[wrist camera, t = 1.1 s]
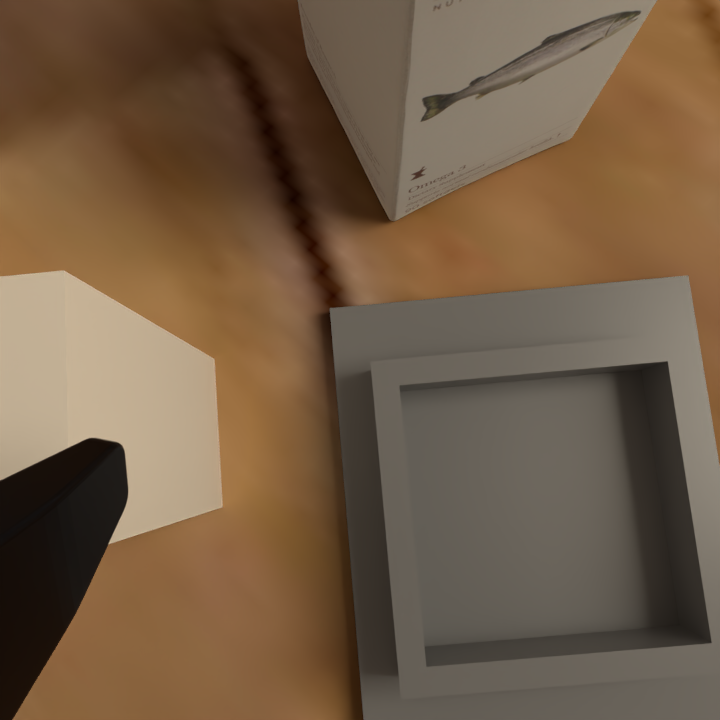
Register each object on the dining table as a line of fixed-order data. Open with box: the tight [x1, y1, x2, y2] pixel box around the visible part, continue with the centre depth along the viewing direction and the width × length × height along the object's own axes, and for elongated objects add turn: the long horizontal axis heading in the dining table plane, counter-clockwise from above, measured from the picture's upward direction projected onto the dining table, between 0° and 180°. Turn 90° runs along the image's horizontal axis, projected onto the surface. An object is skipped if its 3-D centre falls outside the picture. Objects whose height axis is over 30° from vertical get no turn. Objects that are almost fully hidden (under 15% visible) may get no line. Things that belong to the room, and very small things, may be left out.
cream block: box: [0, 271, 223, 544], centre depth 17 cm, size 5×5×11 cm
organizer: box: [330, 276, 720, 720], centre depth 21 cm, size 14×12×3 cm
